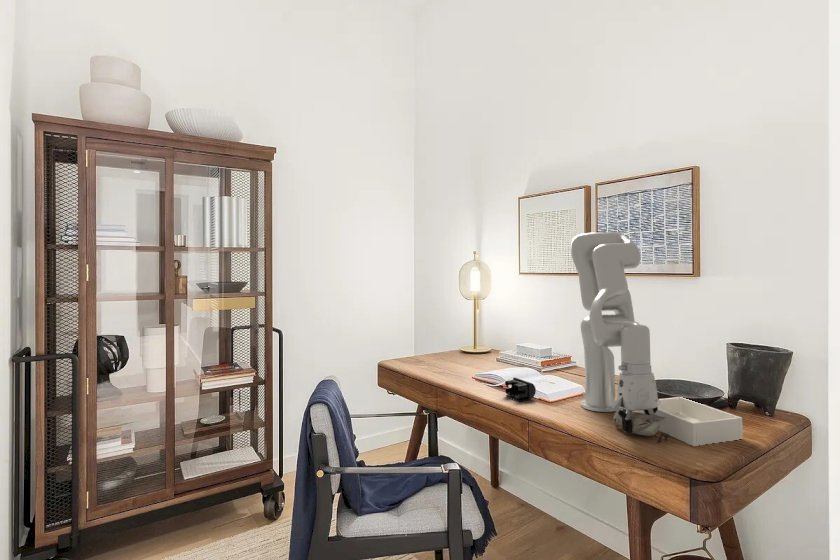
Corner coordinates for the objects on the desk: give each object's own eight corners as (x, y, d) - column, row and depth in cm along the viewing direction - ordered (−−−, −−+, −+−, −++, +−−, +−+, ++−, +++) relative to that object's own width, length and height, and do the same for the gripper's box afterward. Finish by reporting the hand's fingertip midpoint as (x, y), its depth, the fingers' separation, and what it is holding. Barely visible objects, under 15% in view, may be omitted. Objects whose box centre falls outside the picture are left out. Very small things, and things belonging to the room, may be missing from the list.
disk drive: (699, 399, 163) (672, 405, 156) (699, 391, 163) (672, 397, 156) (729, 406, 153) (702, 413, 147) (729, 398, 153) (702, 404, 147)
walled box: (638, 420, 141) (637, 401, 141) (681, 415, 144) (681, 396, 144) (693, 446, 120) (693, 423, 120) (742, 439, 123) (742, 417, 123)
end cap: (536, 400, 167) (535, 381, 167) (520, 402, 164) (519, 384, 164) (520, 393, 176) (519, 376, 176) (504, 396, 173) (504, 378, 173)
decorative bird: (620, 425, 137) (620, 401, 137) (672, 442, 123) (671, 415, 123) (608, 429, 134) (608, 404, 134) (659, 447, 120) (659, 419, 120)
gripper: (617, 373, 123) (619, 439, 124) (672, 368, 127) (673, 432, 127) (600, 368, 131) (602, 430, 131) (653, 363, 134) (654, 423, 135)
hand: (637, 430), depth 129 cm, fingers closed on decorative bird, 5 cm apart
